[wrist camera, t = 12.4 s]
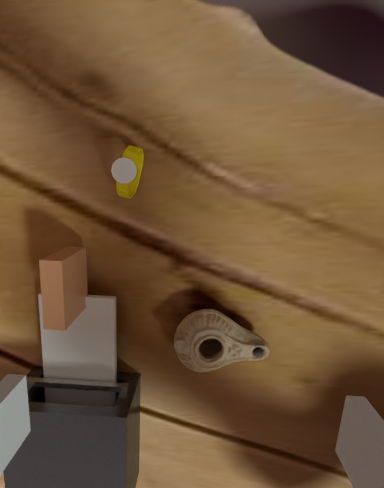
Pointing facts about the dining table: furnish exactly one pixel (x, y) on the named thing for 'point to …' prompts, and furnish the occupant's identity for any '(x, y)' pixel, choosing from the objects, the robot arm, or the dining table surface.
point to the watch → (128, 171)
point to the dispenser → (79, 437)
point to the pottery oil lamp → (215, 341)
